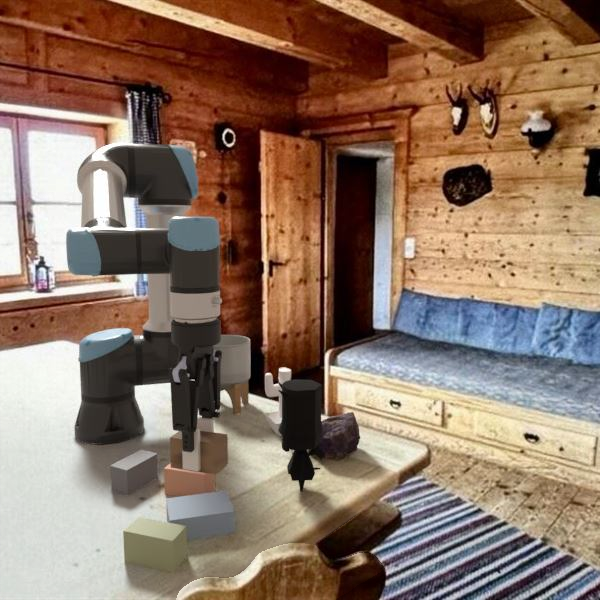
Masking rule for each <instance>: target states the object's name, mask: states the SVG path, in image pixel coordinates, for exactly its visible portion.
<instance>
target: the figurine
mask: <svg viewBox="0 0 600 600" xmlns="http://www.w3.org/2000/svg"><path fill="white" fill-rule="evenodd" d="M273 376H274V375H273V374H272V373H271V372H266V373H265V374H264V391H265V395H266V397H268V398H275V397H278V411H273V412H271V411H270V412H267V413H266V412H265V413H264V416H265V418H266V420H267V423H268V424H269V426H270V428H271V431H273V432H274V433H276V435H277V436H278V437H282V434H280V432H279V431H278V430H279V427H280V424H281V421H282V394H281V393H280V392H279V391H278V390H280V391H282V388H281V387H280V385H279V384H278V383H275V384H274V381H273V380H274V377H273ZM277 379H278V380H277V381H278V382H279V383H281V384H283V383H284V382H286V381H289V380H291V379H292V369H291V368H288V367H286V366H285V367H284V366H283V367H279V368H278V377H277Z"/></svg>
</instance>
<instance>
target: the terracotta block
mask: <svg viewBox="0 0 600 600" xmlns="http://www.w3.org/2000/svg"><path fill="white" fill-rule="evenodd" d="M163 476H164V477H163V478H164V479H163V481H164V482H163V483H164V485H163V487H164V494H165V495H169V496H175V497H181V496H188V495H196V494H203V493H211V492H216V489H215V488H216V486H215V485H216V484H215V483H216V482H215V481H216V480H215V479H216V478H215V476H216V475H215V474H209V473H202V472H196V471H189V470H183V469H177V468H171V462H170V463H169V464H167V465H166V466H165V467H164V468H163Z"/></svg>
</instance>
